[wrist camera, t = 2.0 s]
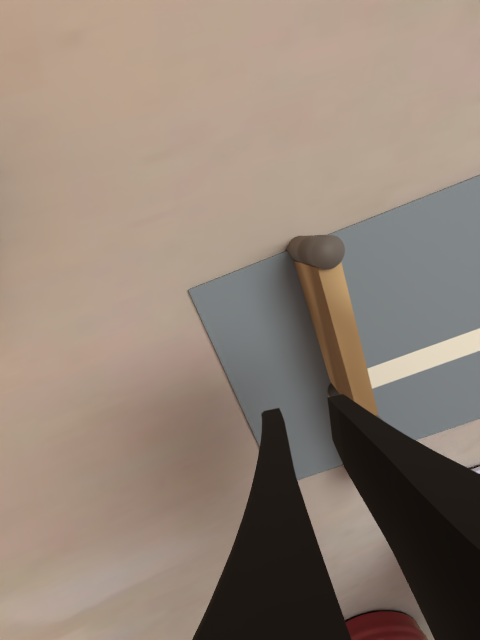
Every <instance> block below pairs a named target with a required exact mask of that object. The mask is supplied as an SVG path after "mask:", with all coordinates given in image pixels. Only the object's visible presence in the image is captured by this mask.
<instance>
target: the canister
mask: <svg viewBox="0 0 480 640" xmlns="http://www.w3.org/2000/svg"><path fill="white" fill-rule="evenodd" d="M345 623H346V626H347V628H348V631H349V634H350V637H351V640H428V639H427V637H426V635H425V634H424V633H423V632H422V630H421V629H420V627H419V625H418V624H417V622H416V621H415V620H414V619H413V618H412V617H410V616H408V615H406V614H403V613H400V612H394V611H379V612H372V613H367V614H364V615H360V616H357V617H355V618H353V619H350V620H348V621H346V622H345Z"/></svg>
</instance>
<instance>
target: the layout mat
mask: <svg viewBox="0 0 480 640" xmlns="http://www.w3.org/2000/svg"><path fill="white" fill-rule="evenodd" d="M328 235H334V236H337V237H339V238H340V239H341V240H342V242H343V244H344V246H345V254H344V257H343V260H342V261H341V263H342V267H343V271H344V275H345V280H346V284H347V288H348V292H349V296H350V300H351V304H352V308H353V312H354V317H355V321H356V325H357V329H358V333H359V337H360V341H361V345H362V349H363V354H364V358H365V362H366V366H367V370H368V374H369V378H370V382H371V386H372V391H373V395H374V399H375V403H376V407H377V411H378V415H379V417H380V418H381V419H382V420H383V421H384V422H386V423H387V424H389V425H391V426H392V427H394V428H395V429H397V430H399V431H400V432H402V433H404V434H405V435H407V436H409V437H410V438H412V439H414V440H418V439H421V438H424V437H427V436H430V435H433V434H436V433H439V432H442V431H445V430H448V429H451V428H453V427H456V426H459V425H462V424H465V423H468V422H471V421H474V420H477V419H480V175H478V176H476V177H473V178H471V179H468V180H465V181H463V182H460V183H458V184H455V185H453V186H450V187H448V188H445V189H443V190H440V191H438V192H435V193H432V194H430V195H427V196H425V197H422V198H420V199H417V200H415V201H412V202H410V203H407V204H404V205H402V206H399V207H397V208H394V209H392V210H389V211H387V212H384V213H382V214H379V215H377V216H374V217H371V218H369V219H366V220H364V221H361V222H359V223H356V224H354V225H351V226H349V227H346V228H344V229H341V230H338V231H336V232H333V233H331V234H328ZM294 261H295V260H293V259H292V258H291V257H290V256H289V254H288V251H285V252H283V253H280V254H277V255H275V256H272V257H270V258H267V259H265V260H262V261H260V262H257V263H255V264H252V265H250V266H247V267H244V268H242V269H239V270H237V271H234V272H232V273H229V274H227V275H224V276H222V277H219V278H217V279H214V280H211V281H209V282H206V283H204V284H201V285H199V286H196V287H194V288H191V289H189V290H188V291H189V293H190V295H191V298H192V300H193V302H194V304H195V306H196V309H197V311H198V313H199V315H200V317H201V320H202V322H203V324H204V326H205V328H206V331H207V333H208V335H209V337H210V339H211V342H212V344H213V346H214V348H215V350H216V353H217V355H218V357H219V359H220V361H221V364H222V366H223V368H224V370H225V372H226V374H227V377H228V379H229V381H230V383H231V385H232V388H233V390H234V392H235V394H236V396H237V399H238V401H239V403H240V405H241V407H242V410H243V412H244V414H245V416H246V418H247V421H248V423H249V425H250V427H251V429H252V432H253V434H254V436H255V438H256V440H257V443H258V445H259V447H260V442H261V433H262V416H261V414H262V413H263V411H266V410H271V409H276V408H280V411H281V413H282V416H283V418H284V421H285V426H286V431H287V436H288V441H289V446H290V451H291V456H292V461H293V466H294V470H295V474H296V478H297V480H300V479H303V478H306V477H309V476H312V475H315V474H318V473H321V472H324V471H326V470H329V469H332V468H335V467H338V466H341V465H343V463H342V461H341V458H340V456H339V454H338V452H337V449H336V447H335V445H334V443H333V440H332V433H331V425H330V416H329V407H328V399H327V397H329V395H328V392H327V390H328V387H329V385H330V384H331V382H330V378H329V375H328V372H327V369H326V365H325V362H324V359H323V355H322V352H321V349H320V345H319V342H318V339H317V336H316V332H315V329H314V326H313V322H312V319H311V316H310V313H309V309H308V306H307V303H306V299H305V296H304V293H303V289H302V286H301V283H300V280H299V276H298V273H297V270H296V266H295V263H294Z"/></svg>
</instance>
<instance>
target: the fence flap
mask: <svg viewBox="0 0 480 640" xmlns="http://www.w3.org/2000/svg"><path fill="white" fill-rule="evenodd" d="M288 254H289V256H290V257H291V258H292V259H293V260H295V261H294V263H295V266H296V270H297V273H298V276H299V280H300V283H301V286H302V289H303V293H304V296H305V299H306V303H307V306H308V309H309V313H310V316H311V319H312V322H313V326H314V329H315V332H316V336H317V339H318V342H319V345H320V349H321V352H322V355H323V359H324V362H325V365H326V369H327V372H328V375H329V378H330V382H331V383H332V384H333V386H334V387H335V389H336V390H337V391H338V393H339V394H340V395H341V394H344V395H345V396H347V397H348V398H350V399H351V400H353V401H354V402H356V403H357V404H359V405H360V406H362V407H363V408H365V409H366V410H368V411H369V412H371V413H372V414H374V415H375V416H376V415H378V411H377V407H376V403H375V399H374V395H373V391H372V386H371V382H370V378H369V374H368V370H367V366H366V362H365V358H364V354H363V349H362V345H361V341H360V337H359V333H358V329H357V325H356V321H355V317H354V312H353V308H352V304H351V300H350V296H349V292H348V288H347V284H346V280H345V275H344V271H343V267H342V263H341V261H342V260H343V257H344V254H345V246H344V244H343V242H342V240H341V239H340V238H339V237H337V236H334V235H315V236H297V237H295V238H293V239H292V240H291V241H290V243H289V245H288Z"/></svg>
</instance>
